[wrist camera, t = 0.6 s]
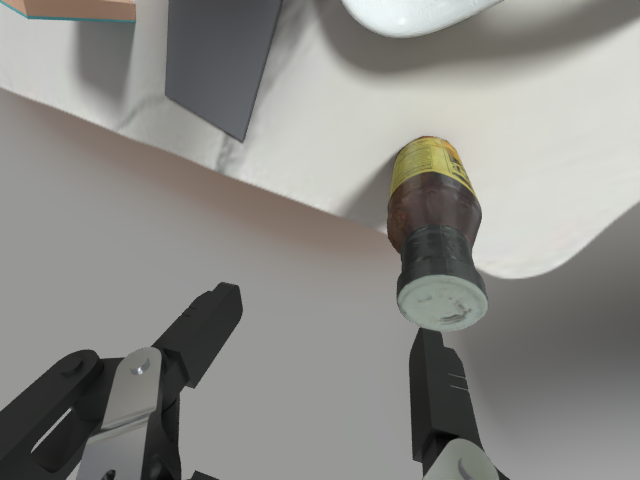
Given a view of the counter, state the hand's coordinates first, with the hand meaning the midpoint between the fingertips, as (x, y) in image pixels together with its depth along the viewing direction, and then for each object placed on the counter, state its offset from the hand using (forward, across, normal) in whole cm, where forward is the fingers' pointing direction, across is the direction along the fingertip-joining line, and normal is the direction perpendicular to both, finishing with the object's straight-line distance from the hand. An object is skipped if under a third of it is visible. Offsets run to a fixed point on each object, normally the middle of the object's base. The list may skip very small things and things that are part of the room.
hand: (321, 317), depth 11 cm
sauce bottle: (+22, -6, -2) cm, 23 cm away
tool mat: (+21, +16, -12) cm, 29 cm away
